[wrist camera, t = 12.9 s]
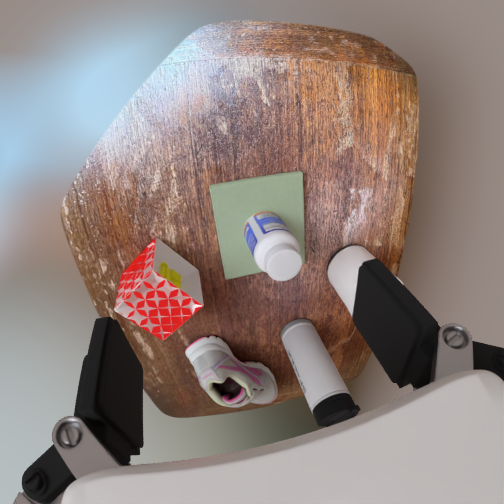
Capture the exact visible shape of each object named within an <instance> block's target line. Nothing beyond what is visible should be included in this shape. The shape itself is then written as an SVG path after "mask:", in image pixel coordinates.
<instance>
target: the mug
mask: <svg viewBox="0 0 504 504" xmlns="http://www.w3.org/2000/svg"><path fill="white" fill-rule="evenodd" d="M371 259H375V257H374V256H373V255H372V254H371V253H370V252H369V251H367V250H366V249H365V248H364V247H362V246H360V245H348V246H345V247H343V248H341V249H340V250H338V251H337V252H336V253H335V254H334V255H333V257H332V258H331V259H330V261H329V264H328V267H327V277H328V279H329V281H330V283H331V284H332V286H333V287H334V289H335V290H336V292H337V293H338V295H339V296H340V298H341V299H342V301H343V302H344V304H345V305H346V307H347V308H348V310H349V312H350V314H351V316H352V314H353V308H354V301H355V294H356V286H357V279H358V270H359V267H360V266H362V263H363V262H364V261H368V260H371ZM392 274H393V273H392ZM393 275H394V274H393ZM394 276H395V275H394ZM395 277H396V276H395ZM396 278H397V279H398V280H399V281H400V282H401V283H402V281H401V280H400V279H399V278H398V277H396ZM402 284H403V283H402ZM403 285H404V284H403Z"/></svg>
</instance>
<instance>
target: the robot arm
mask: <svg viewBox="0 0 504 504" xmlns="http://www.w3.org/2000/svg"><path fill="white" fill-rule="evenodd" d="M352 318H353V322H354V324H355V326H356V327H357V329H358V330H359V332H360V333H361V335H362V336H363V338H364V339H365V341H366V342H367V344H368V345H369V347H370V348H371V350H372V351H373V353H374V354H375V356H376V358H377V359H378V361H379V362H380V364H381V365H382V367H383V368H384V370H385V372H386V373H387V374H388V376H389V378H390V379H391V381H392V382H393V383H397V385H398V386H399V388H402V387H404V386H406V385H408V384H410V383H411V384H412V386H413V392H411V393H409V394H407V395H405V396H403V397H401V398H398V399H396V400H394V401H392V402H389V403H387V404H385V405H383V406H380V407H378V408H376V409H374V410H371V411H369V412H366V413H364V414H362V415H359V416H356V417H354V418H351V419H348V420H346V421H343V422H340V423H337V424H335V425H332V426H329V427H326V428H323V429H320V430H317V431H314V432H311V433H308V434H304V435H301V436H298V437H294V438H291V439H287V440H284V441H280V442H276V443H272V444H268V445H264V446H260V447H256V448H251V449H247V450H242V451H237V452H232V453H227V454H222V455H216V456H210V457H204V458H197V459H189V460H181V461H173V462H163V463H153V464H141V465H131V464H130V463H129V462H130V455H140V448H142V447H143V369H142V365H141V363H140V362H139V360H138V358H137V356H136V355H135V353H134V351H133V349H132V347H131V346H130V344H129V342H128V340H127V338H126V336H125V334H124V332H123V331H122V329H121V327H120V325H119V323H118V321H117V320H113V319H112V318H111V317H104V318H98V319H96V321H95V324H94V328H93V332H92V337H91V341H90V345H89V350H88V355H86V356H85V358H84V361H83V365H82V370H81V375H80V381H79V386H78V393H77V398H76V405H75V412H74V416H68V417H64V418H62V419H61V420H59V422H57V424H56V425H55V427H54V429H53V432H52V441H53V443H54V444H53V445H52V446H51V447H50V448H49V449H48V450H47V451H46V452H45V453H44V454H43V455H42V456H41V457H39V458H38V459H37V460H36V461H35V462H34V463H33V464H32V465H31V466H30V467H29V468H28V469H27V470H26V471H25V472H24V474H23V477H22V487H23V490H24V491H23V493H20V492H19V493H18V495H17V497H16V499H15V501H14V503H13V504H504V348H501V347H496V346H492V345H487V344H483V343H479V342H475V341H472V337H471V335H470V333H469V331H468V330H467V329H466V328H465V327H463V326H461V325H459V324H455V323H449V324H445V325H444V326H442V327H440V326H439V325H438V322H437V321H436V320H435V319H434V318H433V317H432V315H431V314H430V313H429V312H428V311H427V310H426V309H425V308H424V307H423V306H422V304H421V303H420V302H419V301H418V300H417V299H416V298H415V297H414V296H413V295H412V294H411V293H410V291H409V290H408V289H407V288H406V287H405V286H404V285H403V284H402V283H401V282H400V281H399V280H398V279H397V278H396V277H395V276H394V275H393V274H392V273H391V272H390V271H389V270H388V269H387V267H386V266H385V265H384V264H383V263H382V262H381V261H380V260H378V259H376V258H375V259H371V260H368V261H364V262H363V263H362V266H360V267H359V270H358V279H357V286H356V294H355V301H354V308H353V314H352Z"/></svg>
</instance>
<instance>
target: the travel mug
mask: <svg viewBox="0 0 504 504" xmlns="http://www.w3.org/2000/svg"><path fill="white" fill-rule="evenodd" d="M281 339H282V342H283V344H284V347H285V349H286V351H287V354H288V356H289V359H290V361H291V363H292V366H293V368H294V371H295V373H296V375H297V378H298V380H299V383H300V385H301V387H302V390H303V392H304V395H305V397H306V399H307V402H308V404H309V406H310V409H311V411H312V413H313V415H314V417H315V420H316V422H317V425H319V426H326V427H329V426H332V425H335V424H337V423H340V422H343V421H346V420H348V419H351V418H354V417H355V416H356V415H357V414H358V412H359V411H360V408H359V406H358V405H355V404H354V401H353V400H352V398H351V395H350V393H349V392H348V389H347V387H346V385H345V383H344V382H343V380H342V378H341V376H340V374H339V372H338V370H337V368H336V367H335V365H334V363H333V361H332V359H331V357H330V355H329V353H328V352H327V350H326V348H325V346H324V344H323V342H322V340H321V339H320V337H319V335H318V333H317V331H316V329H315V328H314V326H313V324H312V322H311V321H309V320H307V319H297V320H294V321H292V322H290V323H288V324H287V325H286V326H285V327H284V328H283V330H282V332H281Z"/></svg>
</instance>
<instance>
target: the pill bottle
mask: <svg viewBox="0 0 504 504" xmlns="http://www.w3.org/2000/svg"><path fill="white" fill-rule="evenodd" d="M243 233H244V237H245V240H246V242H247V244H248V247H249V249H250V251H251V253H252V255H253V258H254V260H255V262H256V264H257V265H258V267H259V268H260V269H261V270H263V271H264V272H267V273H268V274H269V276H270V277H271V278H272V279H274V280H277V281H286V280H289V279H291V278H293V277H294V276H296V275H297V274H298V272H299V271H300V269H301V266H302V258H301V256H300V254H299V251H300V249H299V244H298V242H297V240H296V238H295V237H294V236H293V234H292V233H291V232H290V230H289V229H288V228H287V226H286V225H285V224H284V223H283V221H282V220H281V219H280V218H279V217H278V216H277V215H276V214H275V213H273V212H270V211H260V212H257V213H255V214H253V215H252V216H250V217H249V218H248V220H247V221H246V223H245V225H244V230H243Z"/></svg>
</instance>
